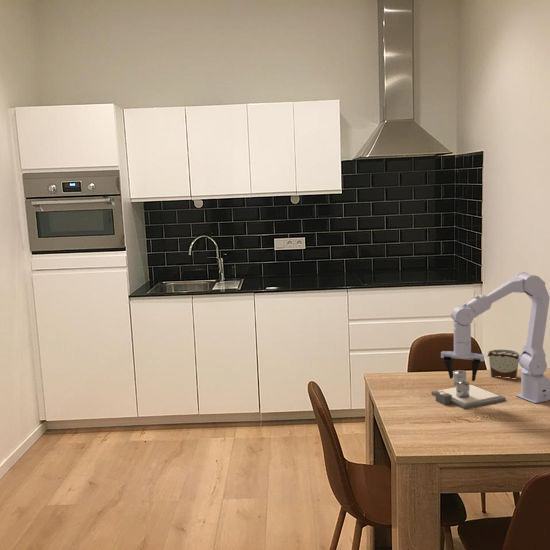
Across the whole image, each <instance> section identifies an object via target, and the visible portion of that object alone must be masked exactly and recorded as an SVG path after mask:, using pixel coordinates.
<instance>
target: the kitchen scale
mask: <svg viewBox="0 0 550 550" xmlns="http://www.w3.org/2000/svg"><path fill="white" fill-rule="evenodd" d="M431 395H433V396H435V402H437V403H440V404H442V405H444V406H446V405H450V404H453V405H455V406H457V407H459V408H461V409H463V410H466V409H471V408H475V407H481V406H486V405H490V404H495V402H496V403H500V402H505V401H507V399H506V397H505V396H502V395H500V394H498V393H495V392H493V391H491V390H490V391H489V390H487V389H485V388H482V387H479V386H478V385H475V384H472V383H469V398H459V397H457V396H456V386H453V387H449V388H443V389H438V390H432V391H431Z"/></svg>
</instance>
